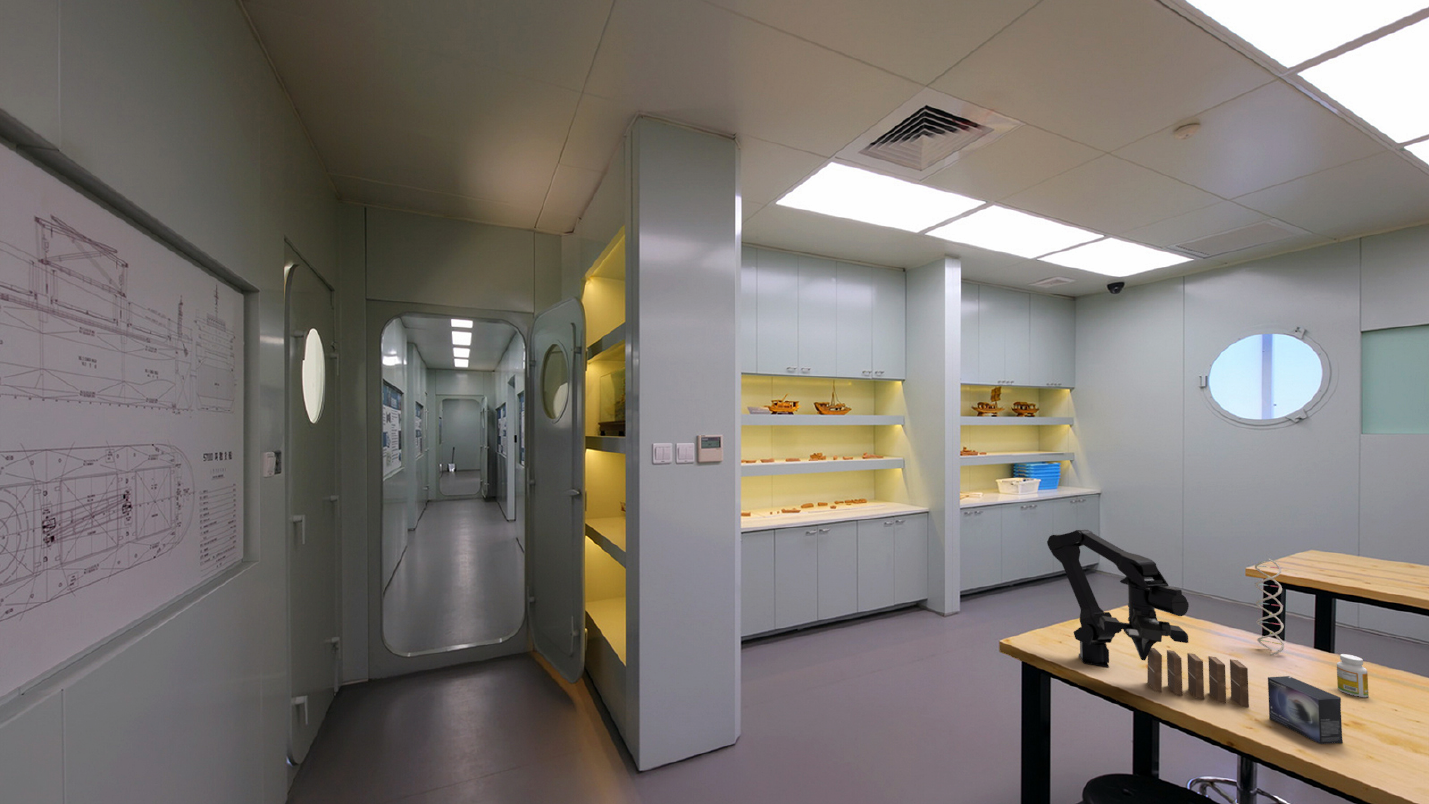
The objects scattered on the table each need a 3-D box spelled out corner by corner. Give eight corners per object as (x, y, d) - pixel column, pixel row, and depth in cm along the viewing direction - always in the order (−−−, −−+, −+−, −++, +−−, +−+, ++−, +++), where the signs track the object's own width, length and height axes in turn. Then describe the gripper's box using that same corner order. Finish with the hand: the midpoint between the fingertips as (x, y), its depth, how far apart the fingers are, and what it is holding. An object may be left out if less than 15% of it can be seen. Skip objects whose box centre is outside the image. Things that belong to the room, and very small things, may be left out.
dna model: (1284, 659, 163) (1281, 563, 165) (1255, 652, 168) (1252, 558, 170) (1286, 653, 167) (1282, 559, 169) (1258, 646, 172) (1254, 555, 174)
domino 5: (1240, 705, 135) (1239, 666, 136) (1231, 696, 140) (1229, 659, 140) (1249, 707, 135) (1247, 668, 135) (1239, 698, 139) (1237, 660, 140)
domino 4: (1218, 701, 137) (1217, 663, 137) (1209, 693, 142) (1208, 655, 142) (1226, 703, 136) (1225, 664, 137) (1217, 694, 141) (1216, 657, 141)
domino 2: (1175, 694, 141) (1173, 657, 141) (1167, 686, 145) (1166, 649, 146) (1182, 695, 140) (1181, 658, 140) (1175, 687, 145) (1174, 650, 145)
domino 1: (1154, 690, 142) (1154, 654, 143) (1147, 682, 147) (1147, 646, 147) (1161, 692, 142) (1161, 655, 142) (1154, 683, 146) (1154, 648, 147)
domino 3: (1196, 698, 139) (1195, 660, 139) (1188, 689, 143) (1187, 652, 144) (1204, 699, 138) (1203, 661, 139) (1195, 690, 143) (1194, 654, 143)
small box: (1266, 718, 129) (1265, 675, 130) (1290, 717, 130) (1288, 675, 130) (1319, 744, 119) (1317, 698, 119) (1344, 743, 119) (1342, 697, 120)
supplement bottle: (1357, 689, 144) (1356, 654, 145) (1374, 699, 139) (1373, 662, 140) (1332, 686, 146) (1330, 651, 146) (1347, 695, 141) (1346, 659, 141)
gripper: (1108, 607, 143) (1110, 665, 142) (1196, 618, 135) (1198, 679, 134) (1098, 595, 153) (1099, 649, 152) (1179, 605, 145) (1180, 662, 145)
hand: (1142, 659), depth 146 cm, fingers closed
